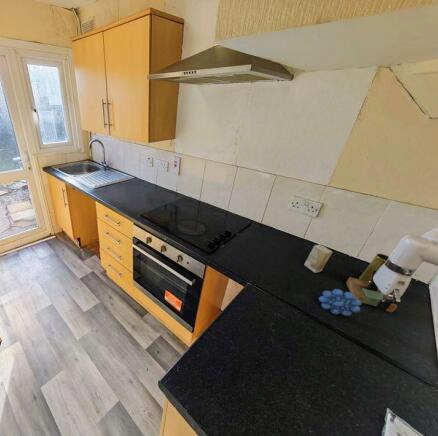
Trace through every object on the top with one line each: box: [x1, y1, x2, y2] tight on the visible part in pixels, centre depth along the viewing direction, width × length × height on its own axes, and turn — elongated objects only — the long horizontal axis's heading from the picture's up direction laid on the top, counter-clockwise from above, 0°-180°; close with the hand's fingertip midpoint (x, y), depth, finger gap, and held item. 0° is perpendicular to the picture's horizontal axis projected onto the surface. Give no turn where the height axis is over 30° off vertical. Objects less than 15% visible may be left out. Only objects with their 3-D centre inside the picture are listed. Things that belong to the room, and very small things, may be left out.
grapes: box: [318, 288, 362, 317], centre depth 85 cm, size 12×7×12 cm, turn 46°
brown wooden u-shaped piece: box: [345, 276, 398, 313], centre depth 94 cm, size 12×12×4 cm
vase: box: [358, 253, 390, 282], centre depth 99 cm, size 6×6×14 cm
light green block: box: [361, 288, 383, 307], centre depth 92 cm, size 7×5×4 cm
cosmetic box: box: [303, 243, 333, 274], centre depth 107 cm, size 6×4×12 cm
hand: (375, 299), depth 91 cm, fingers open, 8 cm apart
